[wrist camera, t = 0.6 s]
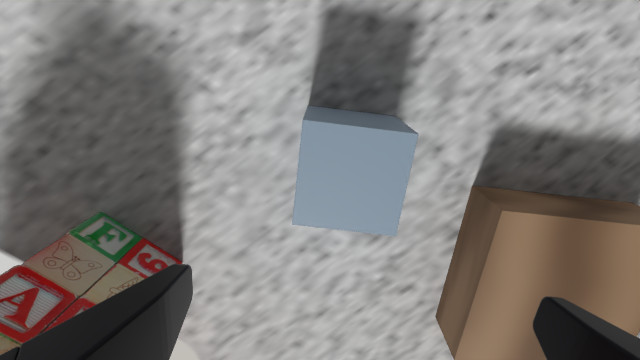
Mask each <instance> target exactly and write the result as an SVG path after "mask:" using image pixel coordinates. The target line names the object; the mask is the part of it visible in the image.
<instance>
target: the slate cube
mask: <svg viewBox="0 0 640 360" xmlns="http://www.w3.org/2000/svg"><path fill="white" fill-rule="evenodd" d="M417 138H418V133H417V132H415V131H414V130H413V129H411V128H410V127H409V126H407V125H406V124H405V123H404V122H402V121H401V120H400V119H398V118H397V117H396V116H389V115H381V114H373V113H365V112H357V111H348V110H340V109H332V108H324V107H316V106H308V107H307V110H306V113H305V115H304V118H303V123H302V133H301V142H300V152H299V162H298V172H297V181H296V191H295V201H294V211H293V220H292V224H293V225H302V226H310V227H319V228H328V229H337V230H346V231H354V232H363V233H372V234H381V235H389V236H396V233H397V228H398V224H399V219H400V215H401V210H402V206H403V201H404V197H405V192H406V188H407V183H408V179H409V174H410V170H411V165H412V161H413V156H414V152H415V147H416V143H417Z"/></svg>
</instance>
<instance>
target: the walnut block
mask: <svg viewBox="0 0 640 360" xmlns="http://www.w3.org/2000/svg"><path fill="white" fill-rule="evenodd" d="M546 296H549V297H560V298H564V299H566V300H568V301H569V302H571V303H573V304H575V305H577V306H579V307H581V308H583V309H585V310H586V311H588V312H590V313H592V314H594V315H596V316H598V317H600V318H602V319H604V320H605V321H607V322H609V323H611V324H613V325H615V326H617V327H619V328H621V329H622V330H624V331H626V332H628V333H630V334H632V335H634V336H637V335H638V333H639V331H640V206H638V205H635V204H633V203H628V202H619V201H610V200H601V199H591V198H582V197H573V196H564V195H554V194H545V193H536V192H526V191H517V190H508V189H499V188H489V187H480V186H472V188H471V192H470V196H469V199H468V203H467V206H466V210H465V213H464V217H463V220H462V224H461V228H460V231H459V235H458V238H457V242H456V245H455V249H454V252H453V256H452V260H451V263H450V267H449V270H448V274H447V277H446V281H445V285H444V288H443V292H442V295H441V299H440V302H439V306H438V309H437V313H436V319H437V321H438V324H439V326H440V328H441V331H442V333H443V335H444V338H445V340H446V342H447V344H448V347H449V349H450V351H451V354H452V356H453V358H454V360H547V359H546V357H545V355H544V353H543V351H542V348H541V346H540V344H539V342H538V340H537V337H536V335H535V333H534V330H533V320H534V317H535V315H536V312H537V309H538V307H539V304H540V302H541V300H542V299H543V298H544V297H546Z"/></svg>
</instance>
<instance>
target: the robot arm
mask: <svg viewBox="0 0 640 360" xmlns="http://www.w3.org/2000/svg"><path fill="white" fill-rule="evenodd" d="M192 295H193V286H192V269H191V267H190V266H189V265H185V264H172V265H170V266H168V267H166V268H164V269H163V270H161V271H159V272H157V273H155V274H153V275H151V276H149V277H147V278H145V279H144V280H142V281H140V282H138V283H136V284H134V285H132V286H130V287H128V288H127V289H125V290H123V291H121V292H119V293H117V294H115V295H113V296H111V297H109V298H108V299H106V300H104V301H102V302H100V303H98V304H96V305H94V306H92V307H91V308H89V309H87V310H85V311H83V312H81V313H79V314H77V315H75V316H73V317H72V318H70V319H68V320H66V321H64V322H62V323H60V324H58V325H56V326H54V327H53V328H51V329H49V330H47V331H45V332H43V333H41V334H39V335H37V336H35V337H34V338H32V339H30V340H28V341H26V342H24V343H22V344H21V346H20V347H18V346H17V347H14V348H13V349H11V350H9V351H7V352H5V353H3V354H1V355H0V360H169V358H170V356H171V353H172V351H173V348H174V346H175V343H176V340H177V338H178V335H179V332H180V330H181V327H182V325H183V322H184V319H185V317H186V314H187V311H188V309H189V306H190V303H191V300H192ZM533 330H534V333H535V335H536V337H537V340H538V342H539V344H540V346H541V348H542V351H543V353H544V355H545V357H546V359H547V360H640V339H639V338H638V337H636V336H634V335H632V334H630V333H628V332H626V331H624V330H622V329H621V328H619V327H617V326H615V325H613V324H611V323H609V322H607V321H605V320H604V319H602V318H600V317H598V316H596V315H594V314H592V313H590V312H588V311H586V310H585V309H583V308H581V307H579V306H577V305H575V304H573V303H571V302H569V301H568V300H566V299H564V298H560V297H549V296H546V297H544V298H543V299H542V300H541V302H540V304H539V307H538V309H537V312H536V315H535V317H534V320H533Z"/></svg>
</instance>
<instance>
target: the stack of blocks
mask: <svg viewBox="0 0 640 360" xmlns="http://www.w3.org/2000/svg"><path fill="white" fill-rule="evenodd" d="M172 264H182V262H181V261H179V260H178V259H176V258H175V257H173V256H172V255H170V254H168V253H167V252H165V251H164V250H162V249H160V248H159V247H157V246H156V245H154V244H152V243H151V242H149V241H148V240H146V239H144V238H142V237H140V236H139V235H137V234H135V233H134V232H132V231H131V230H129V229H128V228H126V227H124V226H123V225H121V224H120V223H118V222H117V221H115V220H113V219H112V218H110V217H109V216H107V215H106V214H104V213H103V212H99V213H98V214H96V215H94V216H93V217H91V218H90V219H88V220H86V221H84V222H83V223H81V224H80V225H78V226H77V227H75V228H73V229H71V230H70V231H69V232H67V233H66V235H65V236H64V237H62V238H61V239H59V240H57V241H56V242H54V243H53V244H51V245H50V246H48V247H46V248H45V249H43V250H42V251H40V252H38V253H37V254H35V255H34V256H33V257H31V258H30V259H28V260H26V261H25V262H24V263H23V264H22V265H17V266H14V267H13V268H11V269H9V270H8V271H6V272H5V273H3V274H2V275H0V355H1V354H3V353H5V352H7V351H9V350H11V349H13V348H14V347H17V346H18V347H20V346H21V344H22V343H24V342H26V341H28V340H30V339H32V338H34V337H35V336H37V335H39V334H41V333H43V332H45V331H47V330H49V329H51V328H53V327H54V326H56V325H58V324H60V323H62V322H64V321H66V320H68V319H70V318H72V317H73V316H75V315H77V314H79V313H81V312H83V311H85V310H87V309H89V308H91V307H92V306H94V305H96V304H98V303H100V302H102V301H104V300H106V299H108V298H109V297H111V296H113V295H115V294H117V293H119V292H121V291H123V290H125V289H127V288H128V287H130V286H132V285H134V284H136V283H138V282H140V281H142V280H144V279H145V278H147V277H149V276H151V275H153V274H155V273H157V272H159V271H161V270H163V269H164V268H166V267H168V266H170V265H172Z"/></svg>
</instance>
